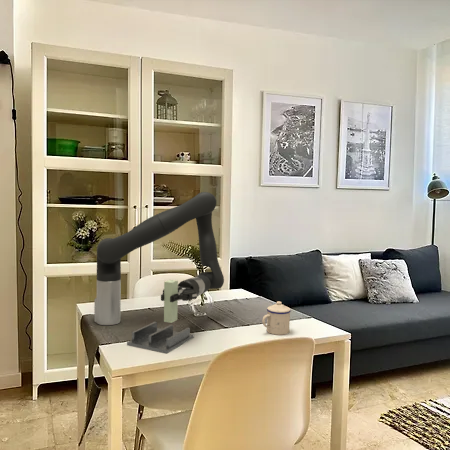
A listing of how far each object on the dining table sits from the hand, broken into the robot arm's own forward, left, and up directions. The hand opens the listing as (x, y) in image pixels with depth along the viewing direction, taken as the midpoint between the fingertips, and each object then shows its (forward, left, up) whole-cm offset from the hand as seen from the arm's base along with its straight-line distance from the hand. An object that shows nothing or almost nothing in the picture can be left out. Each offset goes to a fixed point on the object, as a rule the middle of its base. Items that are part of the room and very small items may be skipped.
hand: (166, 298), depth 153 cm
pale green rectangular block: (0, +3, -8) cm, 9 cm away
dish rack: (-4, +3, -16) cm, 17 cm away
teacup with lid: (+28, +33, -17) cm, 46 cm away
